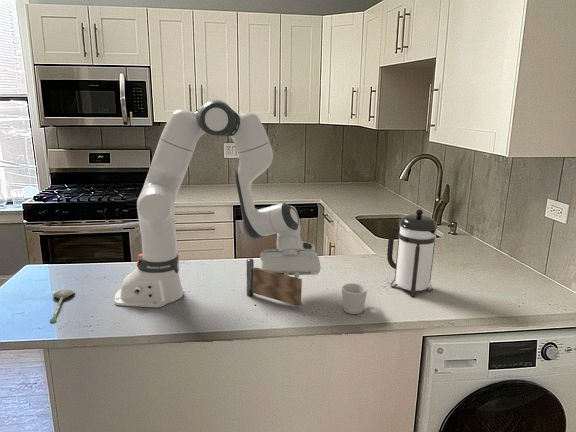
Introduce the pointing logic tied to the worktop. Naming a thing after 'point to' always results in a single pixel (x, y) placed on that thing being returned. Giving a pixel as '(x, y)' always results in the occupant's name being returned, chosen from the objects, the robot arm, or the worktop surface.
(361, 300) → the cup
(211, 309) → the worktop surface
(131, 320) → the worktop surface
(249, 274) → the gate post
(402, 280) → the coffee press
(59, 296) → the soupspoon
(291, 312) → the worktop surface
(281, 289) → the gate
